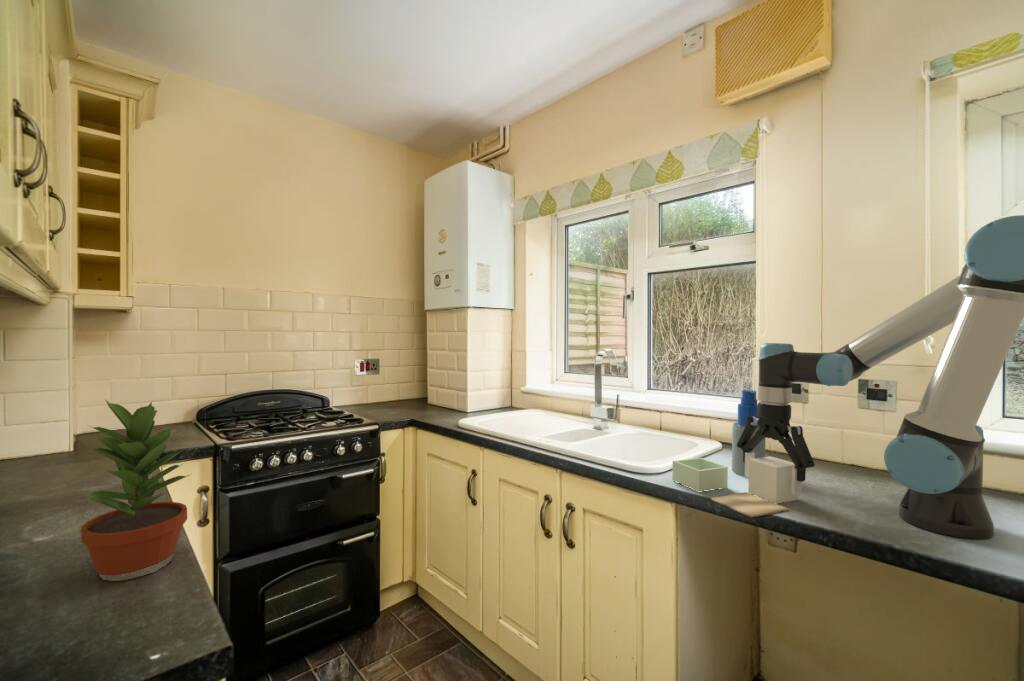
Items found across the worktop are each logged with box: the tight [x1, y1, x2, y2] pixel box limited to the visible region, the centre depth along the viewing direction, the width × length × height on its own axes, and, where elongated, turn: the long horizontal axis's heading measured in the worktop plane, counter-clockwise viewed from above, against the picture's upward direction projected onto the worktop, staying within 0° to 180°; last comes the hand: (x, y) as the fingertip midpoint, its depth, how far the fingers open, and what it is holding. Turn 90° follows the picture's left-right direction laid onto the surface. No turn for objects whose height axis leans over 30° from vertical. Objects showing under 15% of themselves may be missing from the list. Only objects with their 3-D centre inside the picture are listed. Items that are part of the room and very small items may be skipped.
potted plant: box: [80, 398, 192, 575], centre depth 81 cm, size 15×15×30 cm
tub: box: [672, 457, 729, 491], centre depth 126 cm, size 10×10×6 cm
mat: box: [710, 491, 790, 519], centre depth 111 cm, size 12×12×1 cm
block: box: [748, 456, 799, 505], centre depth 117 cm, size 8×8×9 cm
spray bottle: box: [731, 389, 767, 477], centre depth 137 cm, size 9×9×25 cm
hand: (771, 484), depth 117 cm, fingers open, 13 cm apart
